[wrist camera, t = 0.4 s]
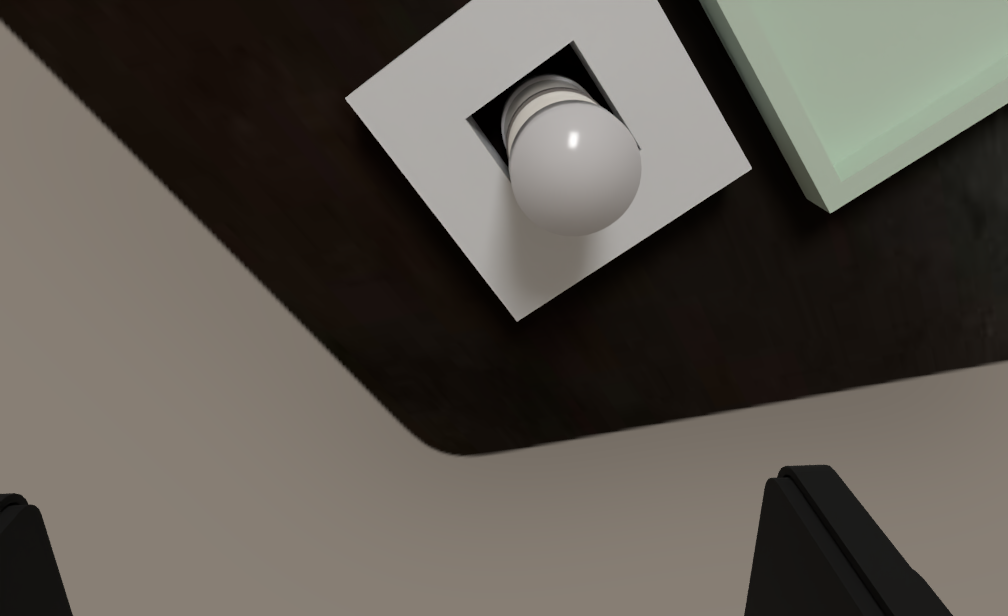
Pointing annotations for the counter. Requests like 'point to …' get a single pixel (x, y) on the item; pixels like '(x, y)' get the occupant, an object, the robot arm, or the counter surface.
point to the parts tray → (864, 80)
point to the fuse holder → (483, 174)
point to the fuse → (568, 156)
